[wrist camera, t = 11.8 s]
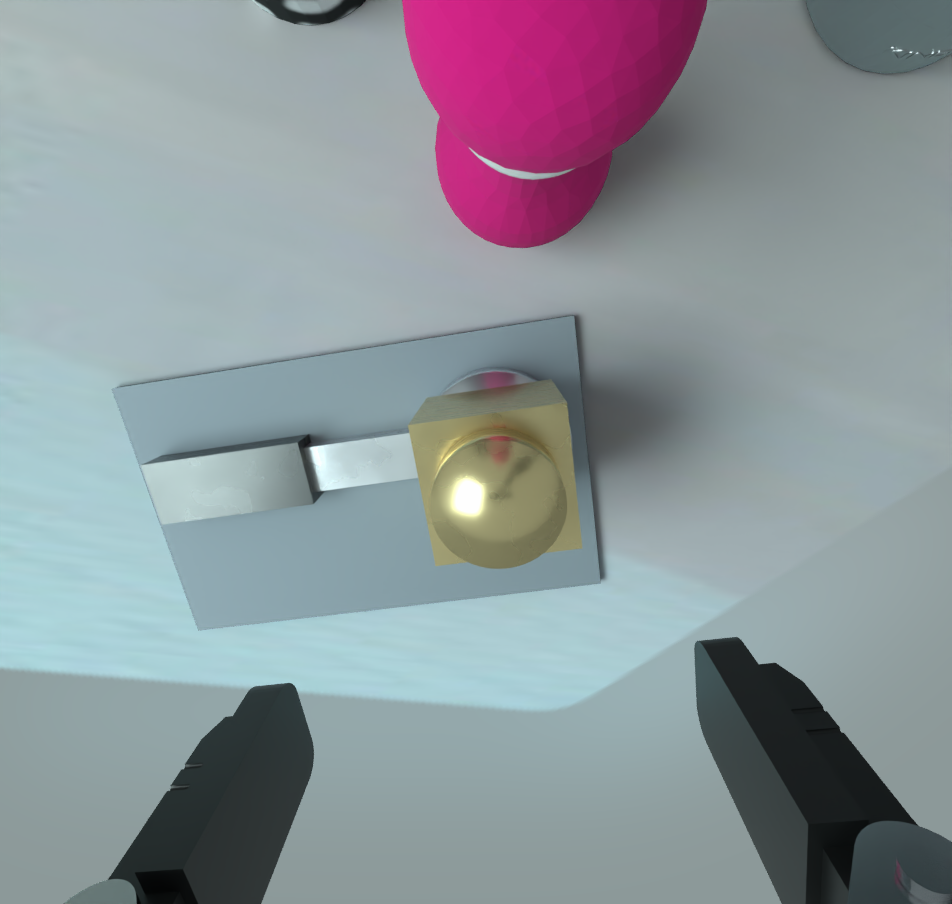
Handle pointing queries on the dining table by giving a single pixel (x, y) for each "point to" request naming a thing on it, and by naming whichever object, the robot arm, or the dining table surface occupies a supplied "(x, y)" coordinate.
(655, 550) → the dining table surface
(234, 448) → the metal ladle
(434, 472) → the brass knob block
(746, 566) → the dining table surface
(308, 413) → the mat
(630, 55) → the pepper mill
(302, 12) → the spotted tube
